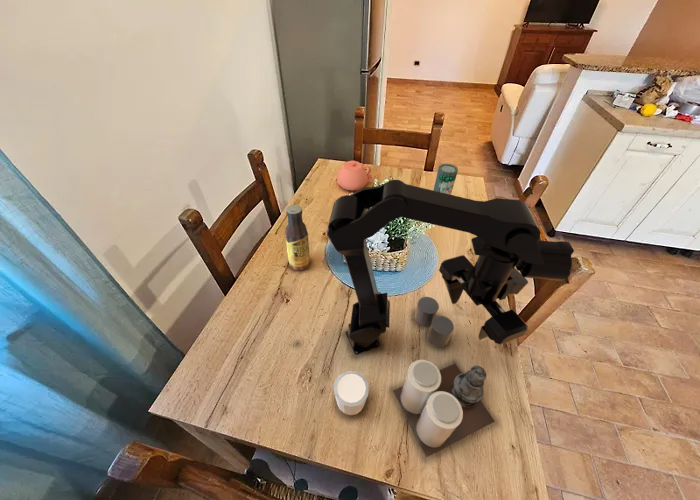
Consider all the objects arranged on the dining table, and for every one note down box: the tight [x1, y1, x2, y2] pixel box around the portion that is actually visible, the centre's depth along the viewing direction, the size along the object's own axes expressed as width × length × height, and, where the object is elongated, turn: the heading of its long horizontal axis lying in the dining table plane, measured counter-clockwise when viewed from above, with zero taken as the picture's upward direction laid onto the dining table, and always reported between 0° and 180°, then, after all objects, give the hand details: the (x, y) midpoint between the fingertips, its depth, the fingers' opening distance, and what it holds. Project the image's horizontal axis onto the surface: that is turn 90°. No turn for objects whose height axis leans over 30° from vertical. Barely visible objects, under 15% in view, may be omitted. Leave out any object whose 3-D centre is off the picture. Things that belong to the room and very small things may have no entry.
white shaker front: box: [416, 391, 463, 447], centre depth 56 cm, size 6×6×12 cm
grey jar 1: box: [413, 296, 440, 327], centre depth 77 cm, size 5×5×6 cm
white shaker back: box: [401, 359, 441, 414], centre depth 60 cm, size 6×6×12 cm
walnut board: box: [392, 363, 496, 458], centre depth 63 cm, size 16×13×1 cm
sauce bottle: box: [284, 204, 311, 271], centre depth 85 cm, size 7×6×20 cm
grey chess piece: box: [451, 365, 488, 408], centre depth 61 cm, size 6×6×12 cm
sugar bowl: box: [336, 160, 373, 191], centre depth 120 cm, size 12×14×10 cm
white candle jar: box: [333, 370, 370, 416], centre depth 62 cm, size 7×7×7 cm
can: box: [432, 163, 459, 195], centre depth 109 cm, size 6×6×15 cm
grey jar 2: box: [426, 315, 455, 348], centre depth 73 cm, size 5×5×6 cm
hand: (467, 320), depth 64 cm, fingers open, 9 cm apart
